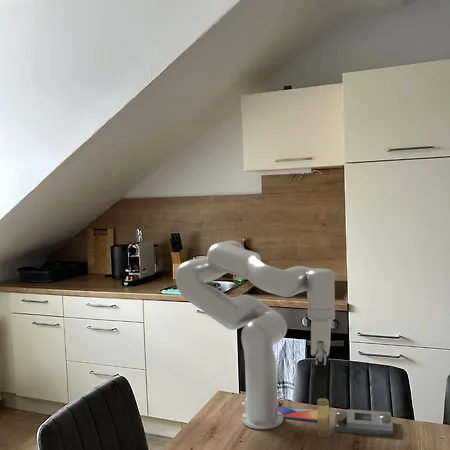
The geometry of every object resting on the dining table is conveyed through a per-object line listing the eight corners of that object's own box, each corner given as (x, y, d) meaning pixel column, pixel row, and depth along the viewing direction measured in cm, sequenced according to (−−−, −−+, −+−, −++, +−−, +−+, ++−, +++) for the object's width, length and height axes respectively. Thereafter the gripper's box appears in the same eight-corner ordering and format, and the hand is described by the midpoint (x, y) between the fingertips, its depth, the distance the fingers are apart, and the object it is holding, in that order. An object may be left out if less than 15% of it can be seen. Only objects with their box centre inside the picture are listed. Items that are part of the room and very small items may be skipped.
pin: (315, 434, 141) (314, 400, 141) (323, 431, 143) (322, 397, 143) (323, 438, 139) (323, 403, 138) (331, 435, 141) (331, 400, 140)
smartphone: (277, 409, 160) (276, 405, 160) (323, 413, 155) (323, 410, 155) (271, 419, 153) (271, 415, 153) (320, 423, 148) (320, 420, 148)
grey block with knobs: (334, 431, 143) (334, 418, 142) (335, 417, 151) (335, 405, 151) (392, 436, 139) (392, 423, 138) (390, 422, 147) (390, 409, 147)
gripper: (310, 305, 148) (311, 361, 149) (305, 320, 132) (306, 382, 133) (335, 306, 146) (336, 362, 147) (333, 321, 130) (334, 384, 131)
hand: (322, 372), depth 140 cm, fingers open, 9 cm apart
